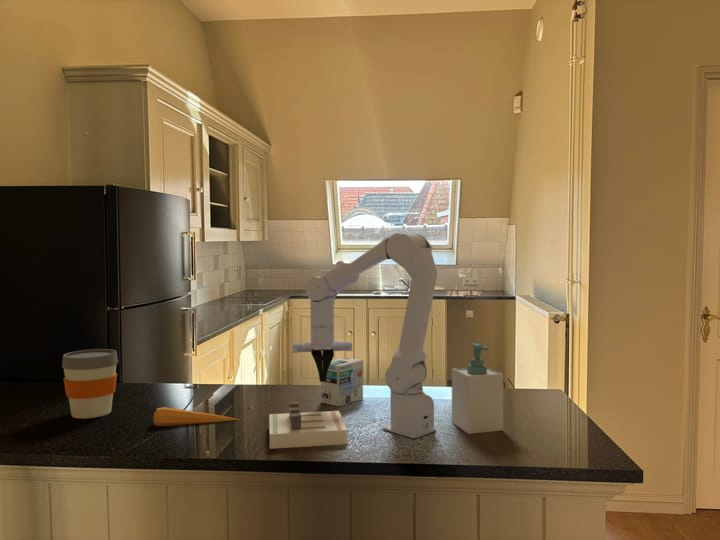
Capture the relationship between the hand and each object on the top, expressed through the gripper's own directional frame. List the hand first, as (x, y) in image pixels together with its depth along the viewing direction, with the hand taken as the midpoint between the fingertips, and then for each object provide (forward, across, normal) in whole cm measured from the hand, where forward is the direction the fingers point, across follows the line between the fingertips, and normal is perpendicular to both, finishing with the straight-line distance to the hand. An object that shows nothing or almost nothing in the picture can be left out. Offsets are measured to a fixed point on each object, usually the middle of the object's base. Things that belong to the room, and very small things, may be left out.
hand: (322, 380), depth 136 cm
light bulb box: (+9, -6, -12) cm, 16 cm away
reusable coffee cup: (+9, +57, -12) cm, 59 cm away
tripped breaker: (+5, +7, +15) cm, 17 cm away
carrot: (+9, +30, +1) cm, 31 cm away
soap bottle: (+9, -34, +15) cm, 38 cm away
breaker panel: (+8, +5, +15) cm, 18 cm away
